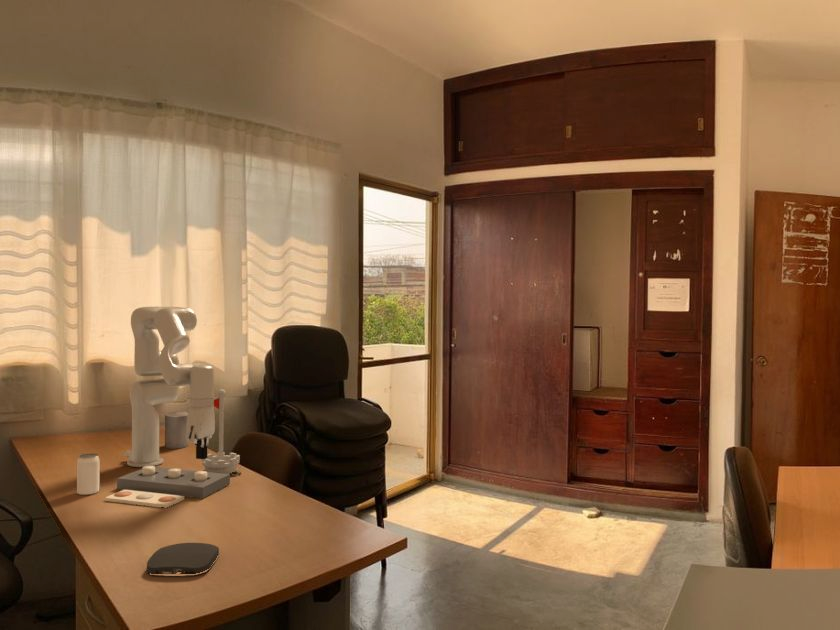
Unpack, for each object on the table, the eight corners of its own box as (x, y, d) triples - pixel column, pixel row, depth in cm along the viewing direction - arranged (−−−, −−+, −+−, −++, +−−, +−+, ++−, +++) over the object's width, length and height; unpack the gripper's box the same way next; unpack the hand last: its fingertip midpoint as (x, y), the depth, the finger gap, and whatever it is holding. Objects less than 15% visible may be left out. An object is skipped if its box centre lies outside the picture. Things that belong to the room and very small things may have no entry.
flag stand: (244, 467, 245) (245, 387, 244) (231, 476, 232) (232, 392, 231) (211, 465, 246) (212, 386, 246) (195, 475, 233) (196, 391, 233)
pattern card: (104, 500, 203) (104, 497, 203) (124, 492, 212) (124, 488, 212) (166, 508, 197) (166, 504, 197) (184, 499, 206) (184, 495, 206)
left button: (139, 477, 220) (139, 468, 220) (147, 474, 224) (147, 465, 224) (149, 478, 219) (150, 469, 219) (157, 475, 223) (157, 466, 223)
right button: (191, 483, 215) (192, 473, 215) (198, 480, 219) (199, 470, 219) (202, 484, 214) (202, 474, 214) (209, 481, 218) (209, 471, 218)
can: (90, 496, 207) (90, 458, 207) (72, 494, 209) (72, 457, 208) (103, 490, 214) (103, 453, 213) (86, 488, 215) (86, 452, 214)
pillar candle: (165, 443, 279) (165, 409, 279) (189, 442, 282) (189, 408, 281) (163, 449, 270) (163, 413, 269) (188, 448, 273) (188, 412, 272)
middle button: (165, 480, 218) (165, 471, 217) (172, 477, 221) (172, 468, 221) (175, 481, 217) (176, 472, 216) (183, 478, 220) (183, 469, 220)
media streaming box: (222, 553, 165) (222, 541, 165) (205, 578, 151) (205, 565, 151) (164, 553, 165) (164, 541, 165) (141, 578, 150) (141, 565, 150)
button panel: (117, 488, 215) (117, 478, 215) (148, 476, 231) (148, 466, 231) (202, 498, 207) (203, 487, 207) (229, 484, 223) (229, 474, 223)
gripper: (204, 399, 224) (204, 452, 224) (177, 405, 209) (177, 463, 210) (224, 400, 222) (224, 454, 222) (198, 407, 207) (198, 464, 208)
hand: (201, 458), depth 216 cm, fingers closed
